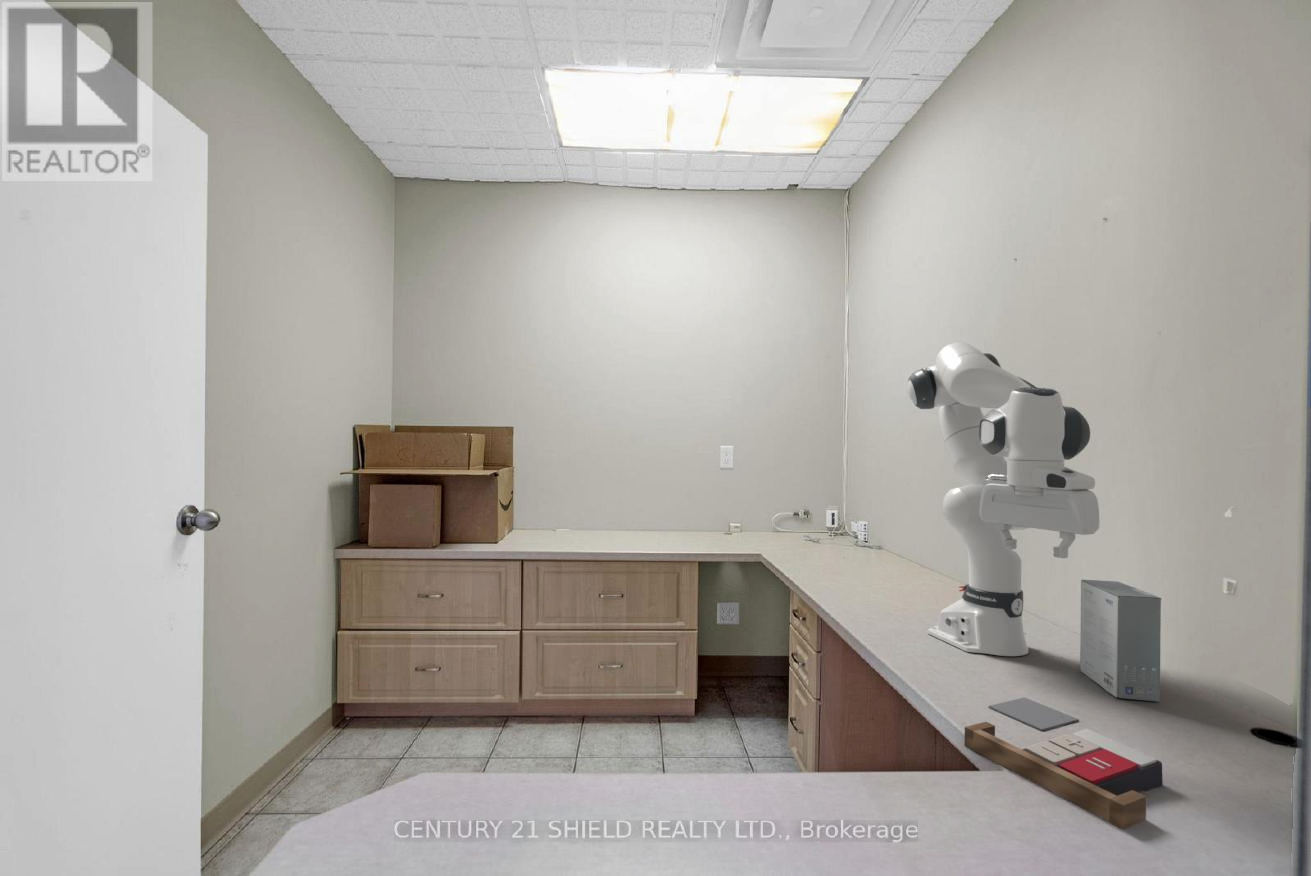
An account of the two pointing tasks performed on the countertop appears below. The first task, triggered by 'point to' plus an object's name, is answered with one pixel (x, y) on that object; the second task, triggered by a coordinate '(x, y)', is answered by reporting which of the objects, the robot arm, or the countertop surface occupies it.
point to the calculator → (1101, 761)
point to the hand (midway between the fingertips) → (1034, 552)
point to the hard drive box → (1121, 639)
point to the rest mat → (1033, 714)
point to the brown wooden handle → (1057, 778)
